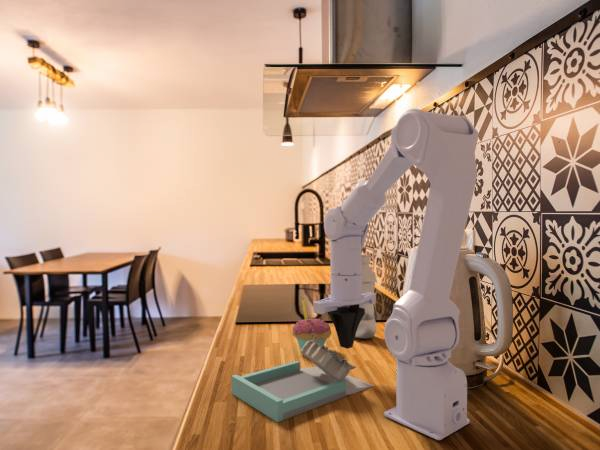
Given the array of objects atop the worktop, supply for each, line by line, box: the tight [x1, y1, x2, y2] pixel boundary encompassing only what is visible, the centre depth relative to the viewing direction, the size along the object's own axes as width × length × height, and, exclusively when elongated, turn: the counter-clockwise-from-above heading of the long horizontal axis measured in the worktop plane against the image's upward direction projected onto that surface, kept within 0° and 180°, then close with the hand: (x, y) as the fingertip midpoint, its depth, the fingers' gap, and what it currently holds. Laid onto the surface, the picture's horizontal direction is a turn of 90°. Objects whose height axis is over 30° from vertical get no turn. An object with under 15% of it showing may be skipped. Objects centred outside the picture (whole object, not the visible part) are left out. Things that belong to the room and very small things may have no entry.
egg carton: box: [300, 334, 357, 381], centre depth 76 cm, size 11×8×4 cm
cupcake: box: [291, 297, 332, 351], centre depth 94 cm, size 9×8×12 cm
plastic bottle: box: [355, 254, 377, 340], centre depth 104 cm, size 6×7×20 cm
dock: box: [230, 360, 375, 423], centre depth 73 cm, size 13×21×4 cm, turn 129°
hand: (346, 346), depth 80 cm, fingers closed
